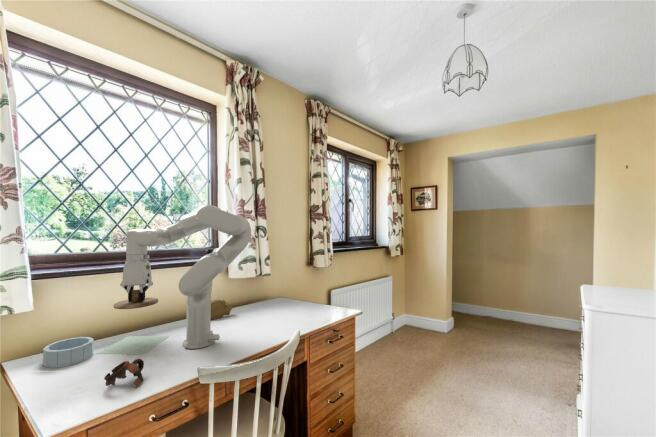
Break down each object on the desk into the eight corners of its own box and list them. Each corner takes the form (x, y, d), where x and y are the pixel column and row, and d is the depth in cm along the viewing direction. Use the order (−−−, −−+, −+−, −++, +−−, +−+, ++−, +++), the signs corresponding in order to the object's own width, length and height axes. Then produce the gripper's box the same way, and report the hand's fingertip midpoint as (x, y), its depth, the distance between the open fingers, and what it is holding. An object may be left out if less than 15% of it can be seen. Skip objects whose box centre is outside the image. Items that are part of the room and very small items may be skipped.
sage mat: (169, 337, 136) (169, 336, 136) (143, 354, 117) (143, 353, 117) (128, 336, 137) (128, 336, 137) (95, 354, 118) (95, 353, 118)
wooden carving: (228, 314, 172) (229, 296, 172) (232, 316, 169) (232, 298, 169) (199, 320, 161) (199, 301, 161) (202, 322, 158) (202, 303, 158)
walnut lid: (165, 299, 135) (165, 286, 136) (143, 309, 119) (143, 294, 120) (130, 299, 135) (130, 286, 136) (103, 309, 120) (103, 294, 120)
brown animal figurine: (133, 394, 91) (117, 373, 89) (109, 405, 92) (93, 385, 90) (157, 366, 102) (143, 347, 101) (135, 376, 104) (121, 358, 102)
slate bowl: (101, 352, 120) (102, 337, 120) (71, 368, 106) (71, 351, 106) (67, 352, 120) (67, 336, 120) (32, 368, 106) (32, 351, 106)
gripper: (161, 257, 132) (161, 299, 131) (123, 257, 132) (123, 299, 131) (150, 259, 124) (150, 303, 124) (111, 259, 124) (110, 303, 124)
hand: (136, 301), depth 128 cm, fingers closed on walnut lid, 3 cm apart
